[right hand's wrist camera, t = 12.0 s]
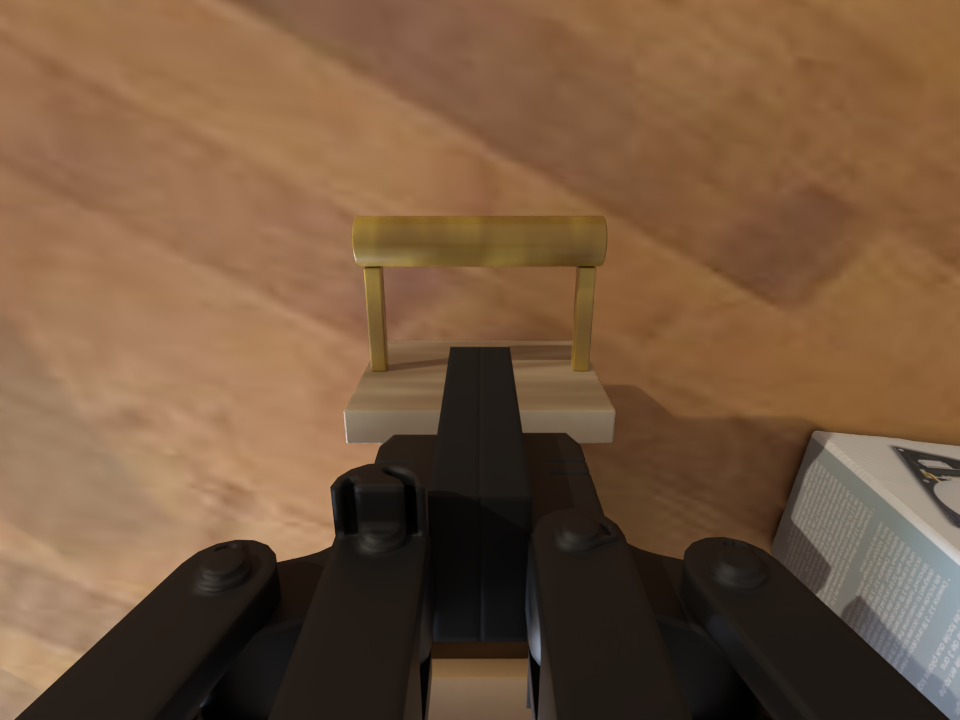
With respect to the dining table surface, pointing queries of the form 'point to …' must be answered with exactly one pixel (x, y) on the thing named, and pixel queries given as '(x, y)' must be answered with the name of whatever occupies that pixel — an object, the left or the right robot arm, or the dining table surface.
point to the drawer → (423, 363)
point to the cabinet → (479, 689)
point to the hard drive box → (883, 549)
